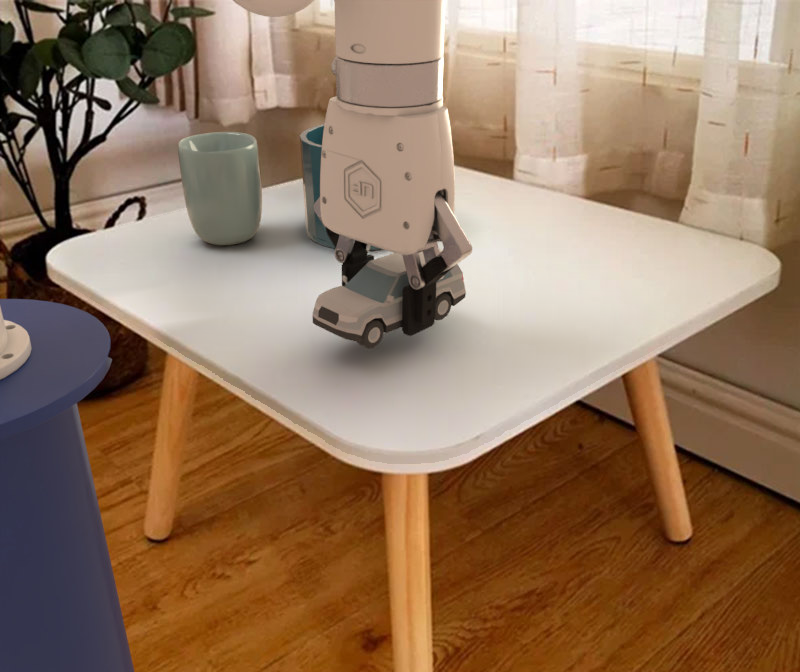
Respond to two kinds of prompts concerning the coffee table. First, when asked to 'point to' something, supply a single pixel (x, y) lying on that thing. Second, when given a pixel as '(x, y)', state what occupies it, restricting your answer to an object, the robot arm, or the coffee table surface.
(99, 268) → the coffee table surface
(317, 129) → the teal plant pot
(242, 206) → the cup
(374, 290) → the toy car
